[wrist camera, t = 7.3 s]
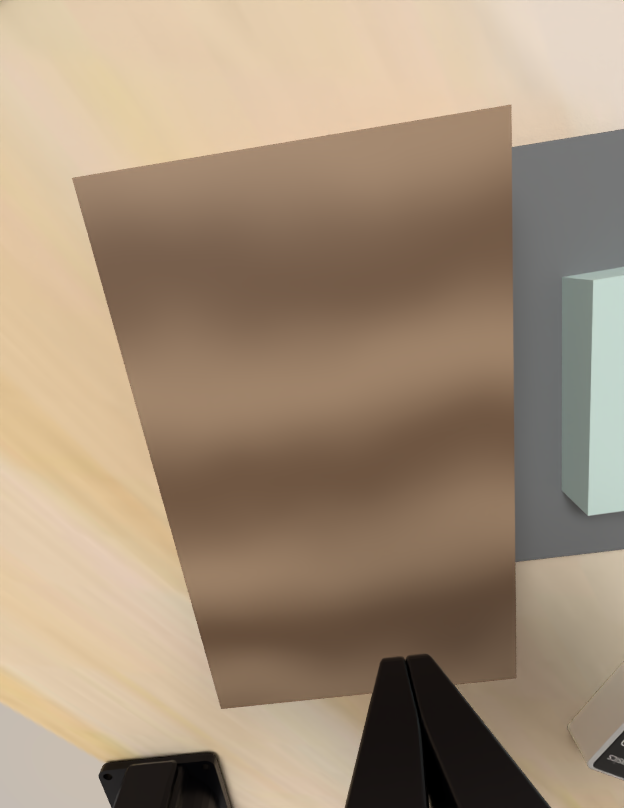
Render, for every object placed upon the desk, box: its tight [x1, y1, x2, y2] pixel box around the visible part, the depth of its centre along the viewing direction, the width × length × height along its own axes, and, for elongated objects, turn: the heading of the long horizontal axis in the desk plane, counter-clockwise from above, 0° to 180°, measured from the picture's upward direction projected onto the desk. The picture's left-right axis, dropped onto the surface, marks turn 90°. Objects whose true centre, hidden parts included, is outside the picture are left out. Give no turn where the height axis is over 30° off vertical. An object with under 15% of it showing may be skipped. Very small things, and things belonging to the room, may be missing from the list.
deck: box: [72, 105, 516, 709], centre depth 17 cm, size 20×12×4 cm, turn 8°
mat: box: [512, 129, 624, 562], centre depth 18 cm, size 17×11×1 cm, turn 8°
